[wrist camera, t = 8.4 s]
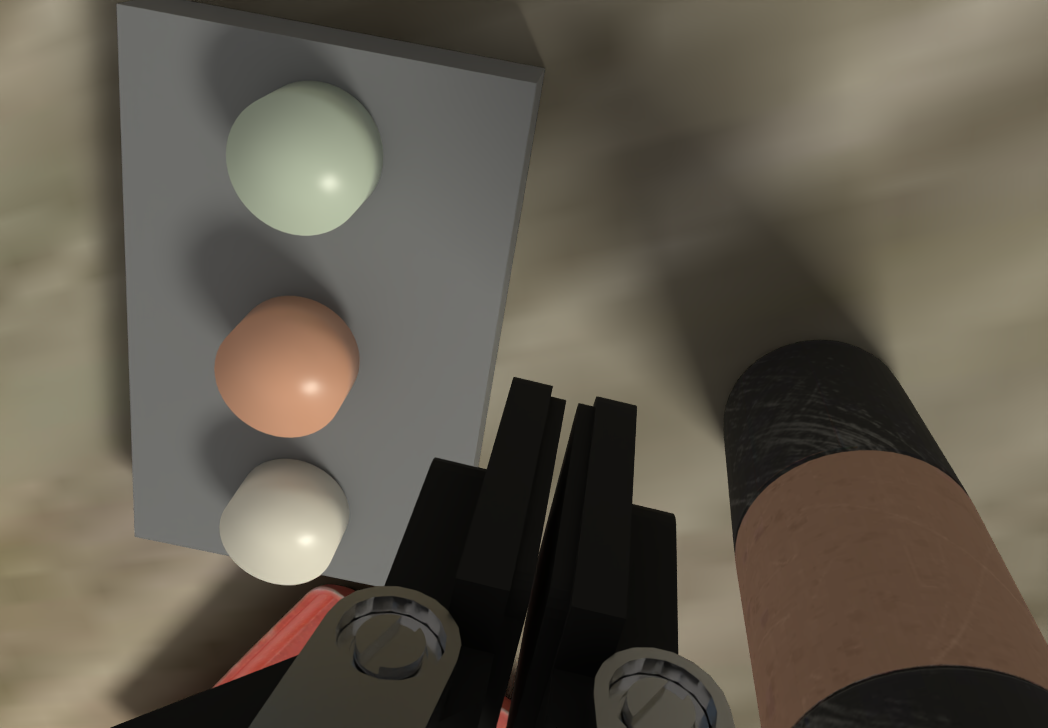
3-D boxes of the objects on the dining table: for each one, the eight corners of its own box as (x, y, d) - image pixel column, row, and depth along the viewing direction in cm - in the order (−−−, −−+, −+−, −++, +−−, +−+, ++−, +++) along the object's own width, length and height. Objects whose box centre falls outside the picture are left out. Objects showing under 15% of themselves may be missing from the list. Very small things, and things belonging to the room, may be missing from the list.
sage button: (253, 68, 31) (227, 80, 29) (389, 94, 31) (372, 108, 29) (249, 201, 33) (224, 221, 31) (377, 226, 33) (360, 247, 31)
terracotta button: (239, 284, 34) (214, 308, 32) (364, 309, 34) (347, 334, 32) (236, 394, 36) (213, 423, 34) (354, 418, 36) (338, 448, 34)
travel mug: (698, 480, 40) (743, 951, 22) (740, 317, 36) (835, 719, 19) (878, 511, 40) (1072, 1014, 22) (939, 349, 36) (1227, 791, 18)
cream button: (242, 448, 38) (220, 478, 36) (353, 471, 38) (337, 502, 36) (239, 539, 40) (218, 572, 38) (345, 560, 40) (329, 595, 38)
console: (158, -5, 33) (116, 3, 31) (545, 68, 33) (536, 83, 30) (166, 497, 44) (134, 536, 41) (462, 557, 43) (451, 601, 40)
